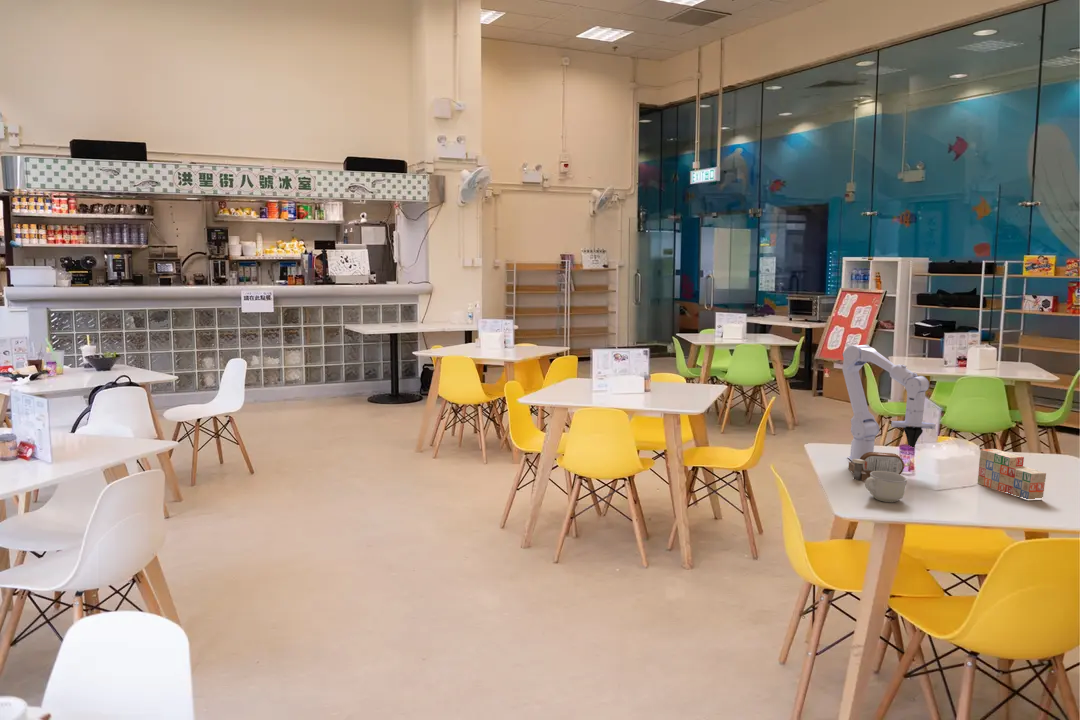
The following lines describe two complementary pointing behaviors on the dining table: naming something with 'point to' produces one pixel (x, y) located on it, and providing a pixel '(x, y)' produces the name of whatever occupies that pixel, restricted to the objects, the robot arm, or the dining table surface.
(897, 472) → the tin
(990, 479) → the stack of blocks
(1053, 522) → the dining table surface
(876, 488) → the teacup
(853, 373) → the robot arm
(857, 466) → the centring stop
